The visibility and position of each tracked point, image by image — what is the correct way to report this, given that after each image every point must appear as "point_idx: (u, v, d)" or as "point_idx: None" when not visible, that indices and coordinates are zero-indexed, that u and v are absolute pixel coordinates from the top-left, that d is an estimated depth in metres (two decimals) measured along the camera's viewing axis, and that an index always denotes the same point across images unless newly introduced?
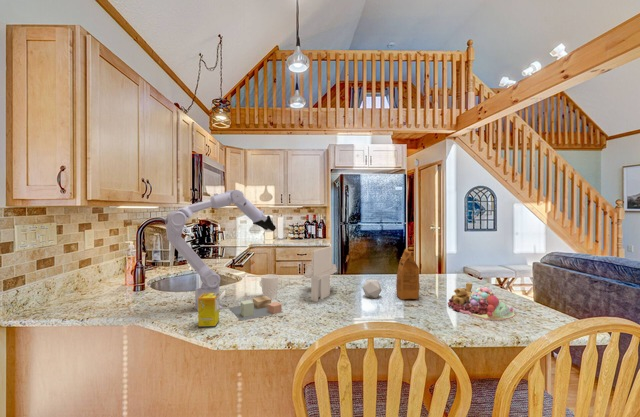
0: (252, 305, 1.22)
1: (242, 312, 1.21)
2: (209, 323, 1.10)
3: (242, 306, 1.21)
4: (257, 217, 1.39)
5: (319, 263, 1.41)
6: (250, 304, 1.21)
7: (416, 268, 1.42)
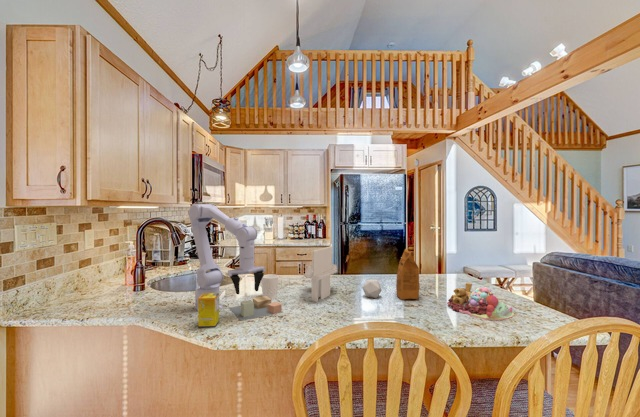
0: (252, 305, 1.22)
1: (242, 312, 1.21)
2: (209, 323, 1.10)
3: (242, 306, 1.21)
4: (239, 268, 1.22)
5: (319, 263, 1.41)
6: (250, 304, 1.21)
7: (416, 268, 1.42)
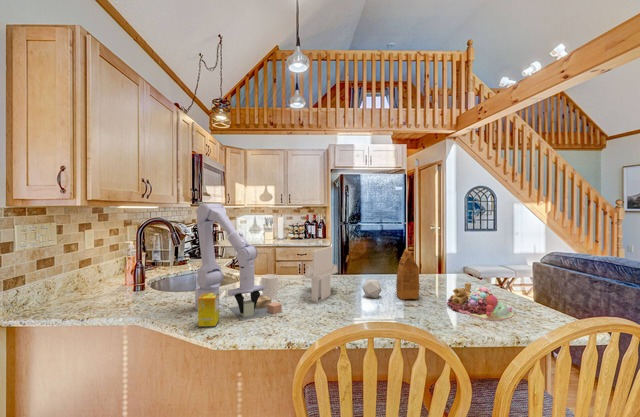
0: (252, 305, 1.22)
1: None
2: (209, 323, 1.10)
3: None
4: None
5: (319, 263, 1.41)
6: (250, 304, 1.21)
7: (416, 268, 1.42)
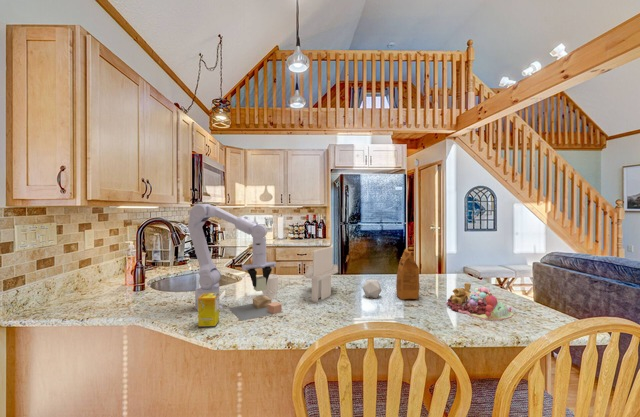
0: (264, 280, 1.30)
1: (255, 287, 1.30)
2: (209, 323, 1.10)
3: None
4: (252, 263, 1.31)
5: (319, 263, 1.40)
6: (262, 279, 1.30)
7: (416, 268, 1.42)
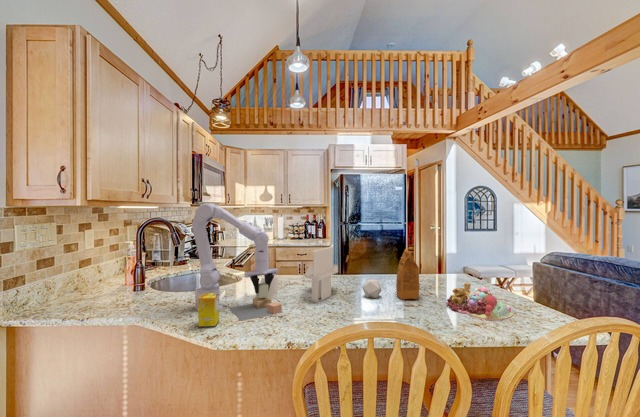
0: (267, 287, 1.32)
1: None
2: (209, 323, 1.10)
3: None
4: (255, 270, 1.32)
5: (319, 263, 1.40)
6: (265, 286, 1.32)
7: (416, 268, 1.42)
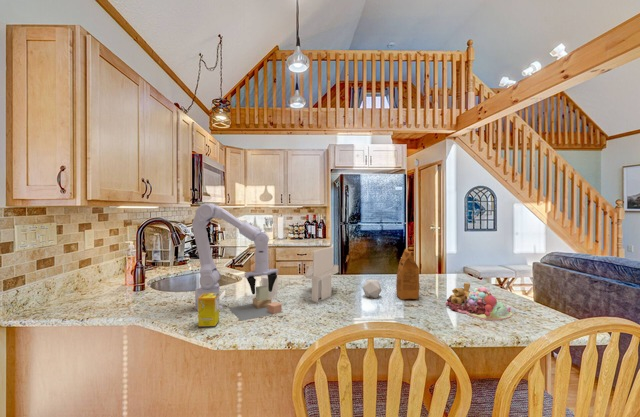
0: (267, 290, 1.32)
1: (257, 296, 1.32)
2: (209, 323, 1.10)
3: (257, 291, 1.32)
4: (255, 270, 1.32)
5: (319, 263, 1.40)
6: (265, 289, 1.32)
7: (416, 268, 1.42)
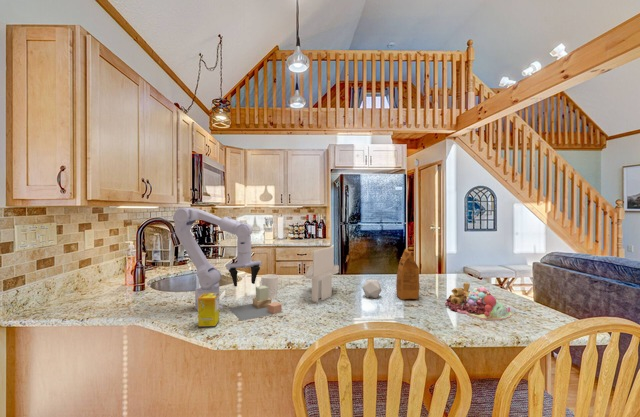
0: (267, 290, 1.32)
1: (257, 296, 1.32)
2: (209, 323, 1.10)
3: (257, 291, 1.32)
4: (237, 262, 1.30)
5: (319, 263, 1.40)
6: (265, 289, 1.32)
7: (416, 268, 1.42)
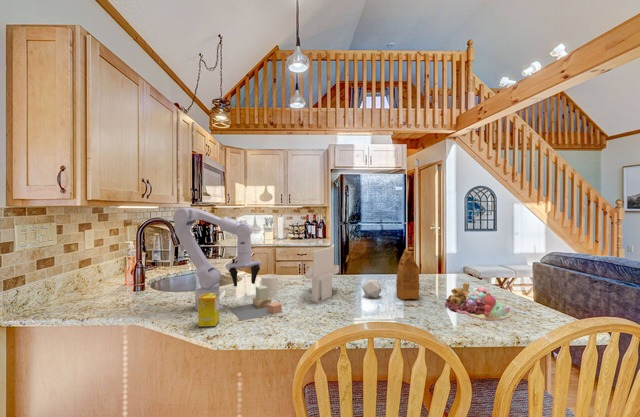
0: (267, 290, 1.32)
1: (257, 296, 1.32)
2: (209, 323, 1.10)
3: (257, 291, 1.32)
4: (237, 262, 1.30)
5: (319, 263, 1.40)
6: (265, 289, 1.32)
7: (416, 268, 1.42)
